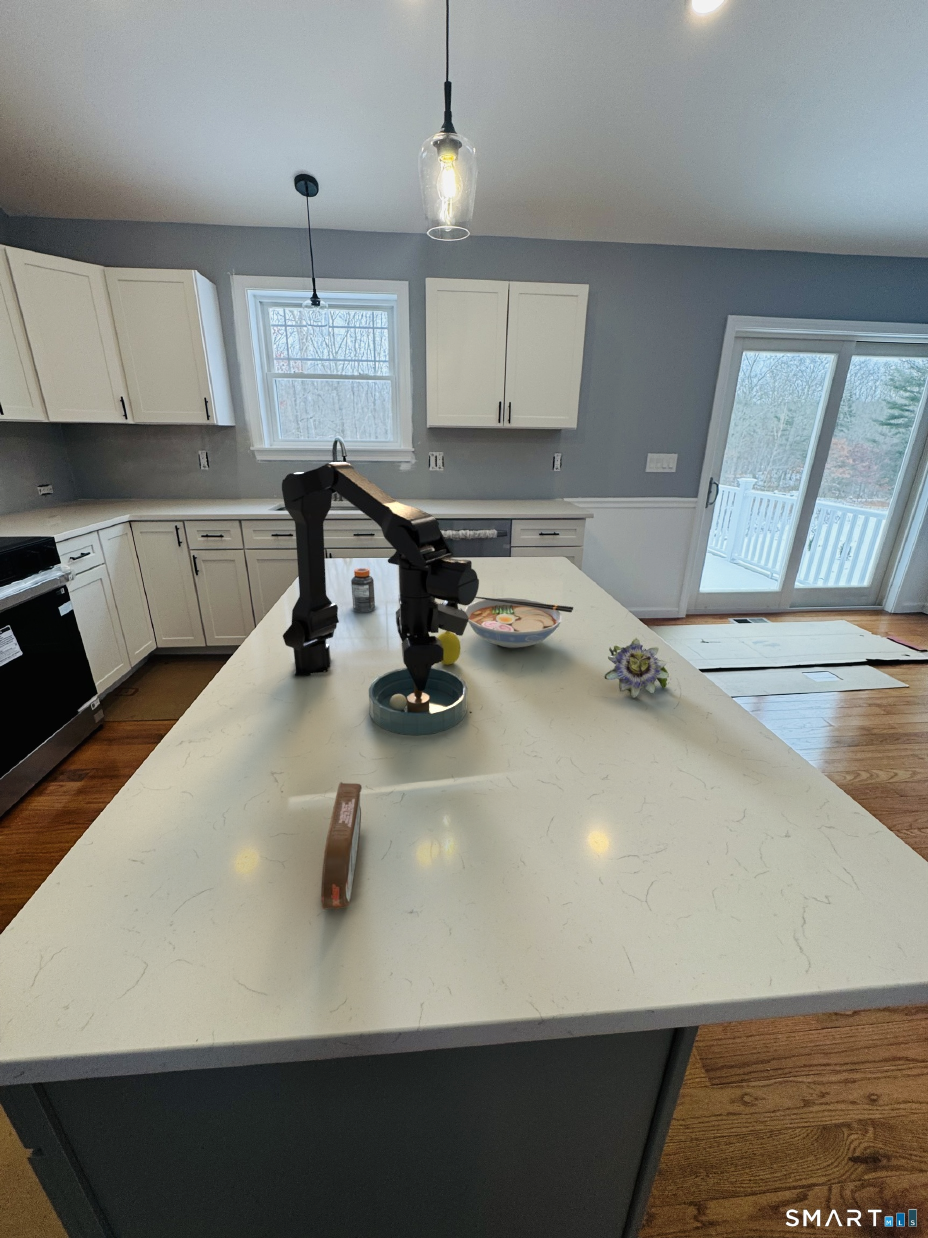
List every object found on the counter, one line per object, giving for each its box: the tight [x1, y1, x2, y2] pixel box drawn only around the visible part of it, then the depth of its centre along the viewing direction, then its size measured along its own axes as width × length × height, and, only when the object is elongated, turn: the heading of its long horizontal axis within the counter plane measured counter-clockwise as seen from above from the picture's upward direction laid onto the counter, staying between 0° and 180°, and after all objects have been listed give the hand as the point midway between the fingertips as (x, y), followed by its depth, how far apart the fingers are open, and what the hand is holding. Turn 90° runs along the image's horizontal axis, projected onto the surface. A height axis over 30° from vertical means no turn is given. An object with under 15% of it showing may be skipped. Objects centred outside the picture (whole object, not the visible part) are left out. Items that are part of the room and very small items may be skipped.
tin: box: [320, 781, 362, 911], centre depth 57 cm, size 15×3×8 cm, turn 5°
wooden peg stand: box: [407, 683, 430, 713], centre depth 89 cm, size 4×4×11 cm
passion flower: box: [603, 637, 670, 699], centre depth 100 cm, size 11×11×12 cm
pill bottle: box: [350, 567, 376, 613], centre depth 138 cm, size 6×6×11 cm
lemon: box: [436, 631, 461, 666], centre depth 107 cm, size 6×6×8 cm
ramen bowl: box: [464, 596, 574, 649], centre depth 119 cm, size 25×23×8 cm
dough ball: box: [390, 694, 407, 711], centre depth 89 cm, size 3×3×3 cm
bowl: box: [368, 666, 468, 736], centre depth 90 cm, size 17×17×4 cm
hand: (418, 677), depth 89 cm, fingers open, 9 cm apart
